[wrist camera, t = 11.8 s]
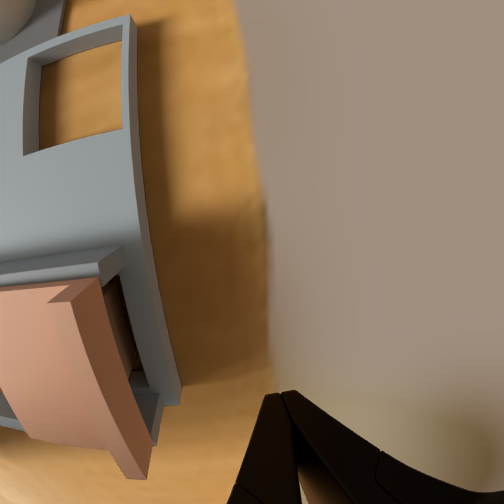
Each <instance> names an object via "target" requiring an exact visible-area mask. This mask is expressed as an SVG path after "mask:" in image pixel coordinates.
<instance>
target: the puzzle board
mask: <svg viewBox="0 0 504 504" xmlns="http://www.w3.org/2000/svg"><path fill="white" fill-rule="evenodd" d="M137 31H138V28H137V27H136V25H135V23H134V21H133V19H132V17H131V15H130V14H129V15H125V16H121V17H117V18H113V19H110V20H106V21H102V22H99V23H96V24H93V25H89V26H86V27H83V28H80V29H77V30H75V31H72V32H69V33H66V34H64V35H61V36H58V37H56V38H53V39H51V40H49V41H46V42H44V43H42V44H39V45H37V46H35V47H33V48H30V49H28V50H26V51H24V52H22V53H20V54H18V55H16V56H14V57H12V58H10V59H8V60H6V61H4V62H2V63H1V64H0V287H7V286H17V285H27V284H37V283H46V282H56V281H65V280H75V279H84V278H93V277H99V281H100V285H101V287H103V286H104V285H105V284H106V283H107V282H108V281H110V280H111V279H112V278H113V277H114V276H115V275H120V280H121V284H122V289H123V293H124V298H125V302H126V306H127V311H128V315H129V319H130V323H131V326H132V330H133V334H134V338H135V341H136V345H137V348H138V352H139V355H140V359H141V362H142V365H143V368H144V371H131V373H130V376H129V378H128V381H129V384H130V387H131V390H132V392H133V395H134V398H135V400H136V403H137V405H138V408H139V410H140V413H141V415H142V418H143V420H144V422H145V425H146V427H147V429H148V432H149V434H150V436H151V439H152V441H153V446H157V440H158V434H159V429H160V423H161V418H162V413H163V407H164V406H172V405H180V398H181V390H182V386H181V382H180V378H179V374H178V371H177V367H176V363H175V359H174V355H173V351H172V347H171V342H170V338H169V334H168V329H167V325H166V320H165V315H164V311H163V306H162V301H161V296H160V291H159V285H158V280H157V274H156V269H155V263H154V257H153V251H152V244H151V238H150V231H149V224H148V217H147V209H146V201H145V192H144V183H143V173H142V163H141V151H140V137H139V120H138V97H137ZM121 40H122V59H121V99H122V127H123V129H120V130H115V131H110V132H106V133H102V134H97V135H93V136H89V137H85V138H82V139H78V140H74V141H70V142H67V143H63V144H60V145H56V146H53V147H50V148H47V149H43V150H40V151H39V100H40V83H41V71H42V66H44V65H46V64H49V63H52V62H54V61H57V60H59V59H62V58H65V57H68V56H70V55H73V54H76V53H79V52H82V51H86V50H89V49H92V48H95V47H99V46H102V45H106V44H109V43H113V42H117V41H121ZM0 425H1V426H5V427H9V428H12V429H17V430H21V431H25V430H24V428H23V427H22V425H21V423H20V422H19V420H18V418H17V417H16V415H15V413H14V412H13V410H12V408H11V406H10V405H9V403H8V401H7V399H6V397H5V395H4V393H3V391H2V392H1V393H0ZM25 432H26V431H25Z"/></svg>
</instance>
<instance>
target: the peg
mask: <svg viewBox="0 0 504 504" xmlns="http://www.w3.org/2000/svg"><path fill="white" fill-rule="evenodd" d="M35 5H36V0H0V46H2V45H4V44H6V43H7V42H9V41H10V40H11V39H12V38H13V37H14V36H16V35H17V34H18V33H19V31H20V30H21V29H22V28H23V27H24V25H25V24H26V23H27V21H28V20H29V18H30V17H31V15H32V13H33V11H34V8H35Z"/></svg>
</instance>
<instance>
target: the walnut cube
mask: <svg viewBox="0 0 504 504" xmlns="http://www.w3.org/2000/svg"><path fill="white" fill-rule="evenodd" d="M101 290H102V294H103V298H104V302H105V306H106V310H107V314H108V318H109V321H110V325H111V328H112V332H113V335H114V339H115V342H116V345H117V349H118V352H119V355H120V358H121V361H122V364H123V367H124V370H125V373H126V376H127V379H128V378H129V376H130V373H131V371H132V368H133V366H134V363H135V361H136V359H137V356H136V353H135V350H134V347H133V344H132V340H131V337H130V334H129V331H128V327H127V324H126V320H125V317H124V313H123V310H122V306H121V302H120V299H119V295H118V291H117V287H116V283H115V284H107V285H104V286H103V287H101Z"/></svg>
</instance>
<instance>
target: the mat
mask: <svg viewBox="0 0 504 504" xmlns="http://www.w3.org/2000/svg"><path fill="white" fill-rule="evenodd" d="M66 3H67V0H36V5H35V8H34V11H33V13H32V15H31V17H30V18H29V20H28V21H27V23H26V24H25V25H24V27H23V28H22V29H21V30H20V31H19V33H18V34H17V35H16V36H14V37H13V38H12V39H11V40H10V41H9V42H7V43H6V44H4V45H2V46H0V64H1V63H2V62H4V61H6V60H8V59H10V58H12V57H14V56H16V55H18V54H20V53H22V52H24V51H26V50H28V49H30V48H33V47H35V46H37V45H39V44H42V43H44V42H46V41H49V40H51V39H53V38H56V37H58V36H61V32H62V25H63V19H64V14H65V8H66Z"/></svg>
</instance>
